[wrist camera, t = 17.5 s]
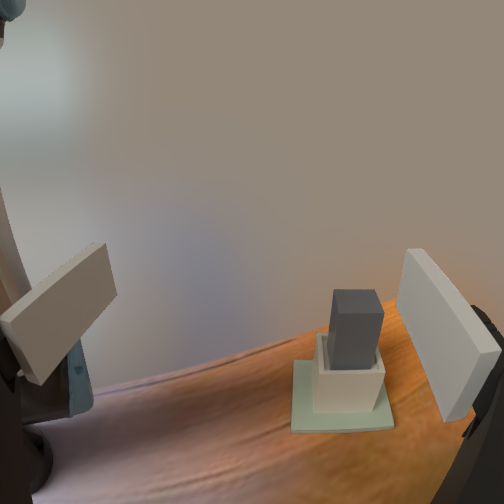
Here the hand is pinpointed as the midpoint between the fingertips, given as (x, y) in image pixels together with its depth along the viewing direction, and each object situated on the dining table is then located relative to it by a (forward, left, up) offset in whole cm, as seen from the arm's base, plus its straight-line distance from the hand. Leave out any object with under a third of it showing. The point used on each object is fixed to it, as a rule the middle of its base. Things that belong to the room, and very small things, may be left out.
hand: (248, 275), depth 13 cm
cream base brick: (+7, +26, -34) cm, 43 cm away
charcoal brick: (+7, +26, -26) cm, 37 cm away
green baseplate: (+7, +26, -35) cm, 44 cm away
